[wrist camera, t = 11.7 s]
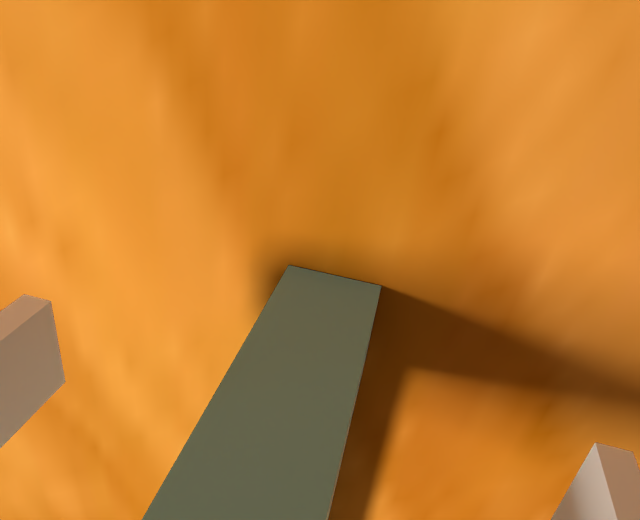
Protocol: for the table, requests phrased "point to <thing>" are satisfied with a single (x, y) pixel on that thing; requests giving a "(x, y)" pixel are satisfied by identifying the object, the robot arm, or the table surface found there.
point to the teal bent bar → (278, 409)
